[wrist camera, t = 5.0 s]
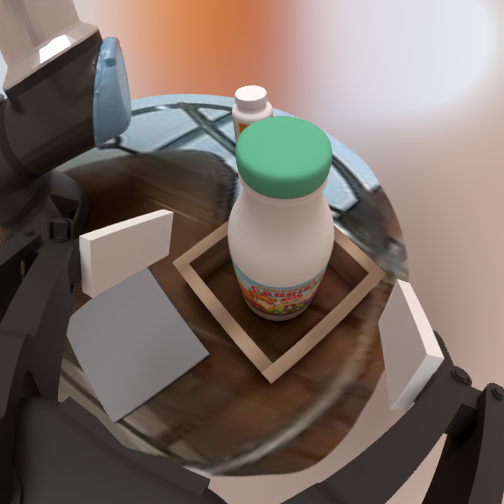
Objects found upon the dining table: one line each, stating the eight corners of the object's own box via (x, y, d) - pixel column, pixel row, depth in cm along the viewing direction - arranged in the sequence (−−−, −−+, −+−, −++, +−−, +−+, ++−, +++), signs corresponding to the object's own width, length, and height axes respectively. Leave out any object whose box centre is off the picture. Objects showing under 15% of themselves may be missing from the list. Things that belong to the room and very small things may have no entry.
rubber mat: (65, 325, 29) (62, 324, 29) (143, 260, 33) (141, 258, 32) (115, 422, 24) (113, 422, 23) (210, 354, 27) (209, 353, 27)
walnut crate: (186, 280, 31) (172, 262, 27) (282, 208, 35) (283, 181, 30) (271, 383, 26) (271, 383, 21) (369, 290, 29) (385, 273, 25)
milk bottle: (230, 273, 31) (180, 126, 13) (292, 243, 32) (306, 86, 14) (262, 335, 28) (243, 240, 10) (327, 301, 29) (399, 171, 11)
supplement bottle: (281, 148, 39) (281, 93, 31) (251, 164, 38) (246, 108, 29) (258, 130, 41) (254, 78, 33) (230, 145, 40) (220, 92, 32)
